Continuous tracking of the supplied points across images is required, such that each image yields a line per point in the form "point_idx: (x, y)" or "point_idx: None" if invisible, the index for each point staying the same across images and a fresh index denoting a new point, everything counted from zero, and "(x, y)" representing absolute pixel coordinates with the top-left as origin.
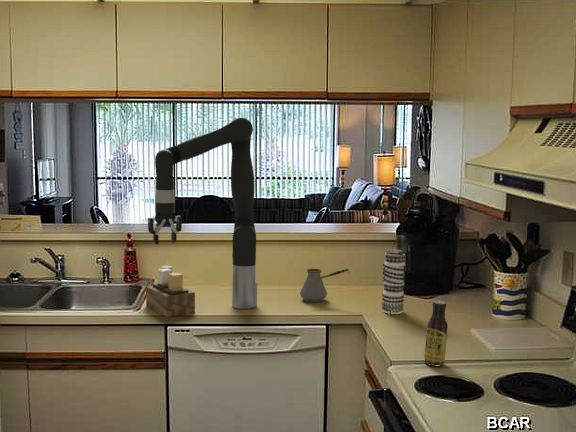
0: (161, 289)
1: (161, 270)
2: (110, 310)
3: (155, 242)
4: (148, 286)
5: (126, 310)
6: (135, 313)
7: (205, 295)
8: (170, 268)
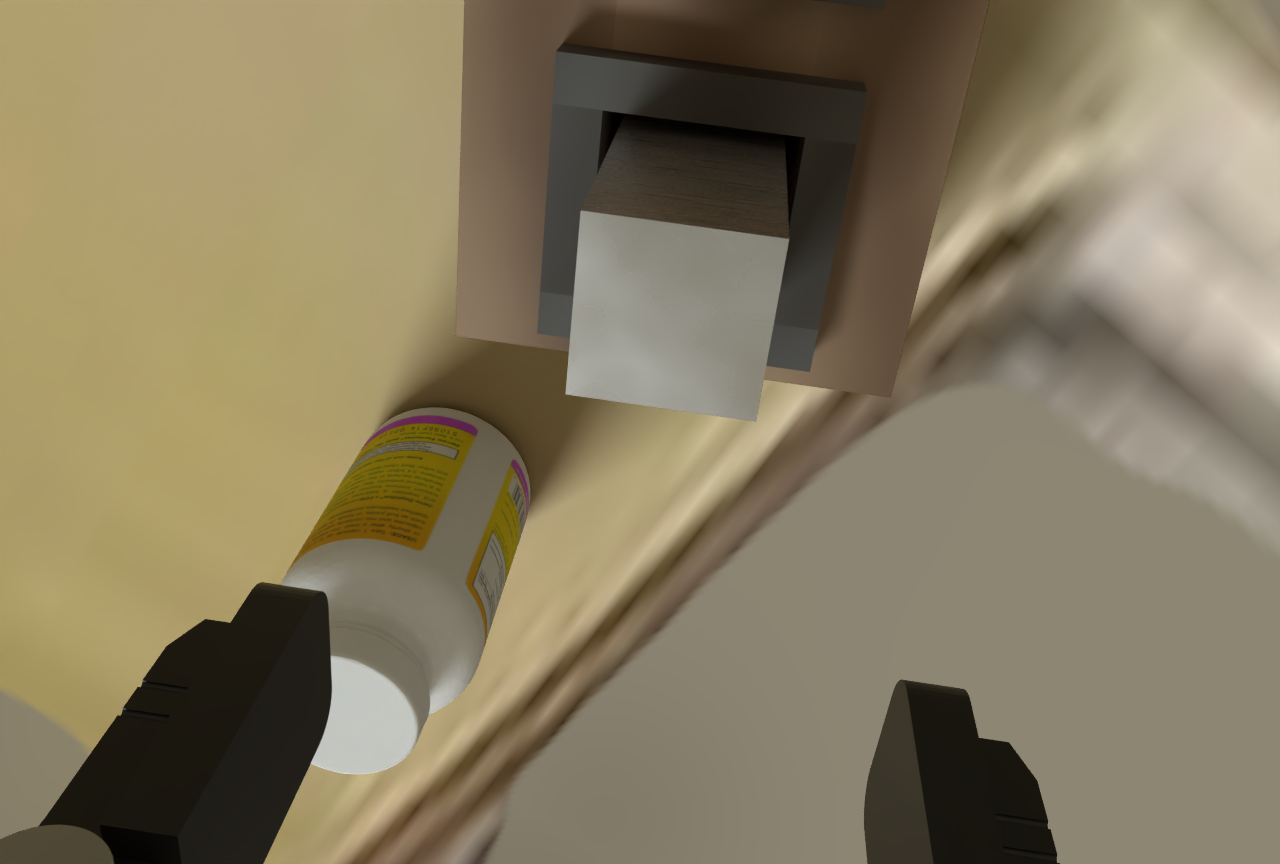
0: (850, 84)
1: (758, 319)
2: (1272, 392)
3: (1007, 755)
4: (855, 391)
5: (1149, 284)
6: (1171, 101)
7: (48, 262)
8: None
